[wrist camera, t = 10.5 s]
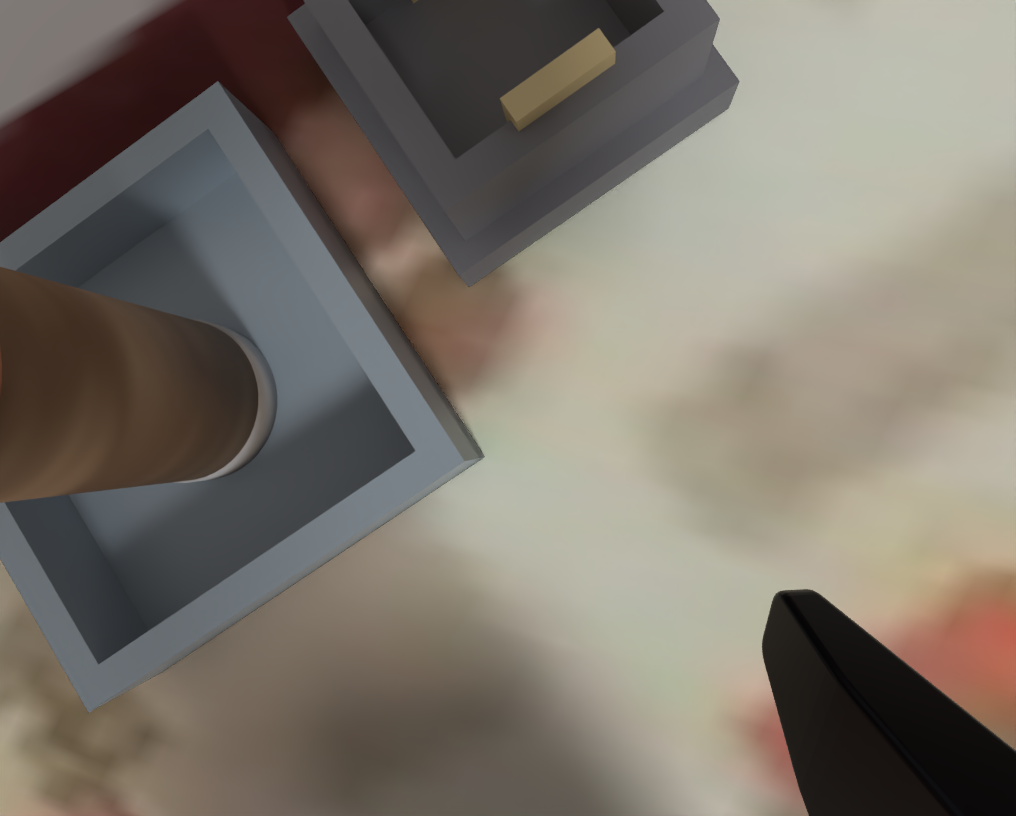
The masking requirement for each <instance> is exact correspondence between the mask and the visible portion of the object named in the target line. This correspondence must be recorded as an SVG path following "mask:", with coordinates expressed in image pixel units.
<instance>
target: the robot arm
mask: <svg viewBox="0 0 1016 816" xmlns="http://www.w3.org/2000/svg"><path fill="white" fill-rule="evenodd" d="M762 653H763V659H764V663H765V667H766V670H767V674H768V678H769V681H770V685H771V689H772V692H773V696H774V700H775V703H776V707H777V711H778V714H779V718H780V722H781V725H782V729H783V733H784V736H785V740H786V744H787V747H788V751H789V755H790V758H791V762H792V766H793V769H794V773H795V776H796V779H797V783H798V786H799V789H800V792H801V795H802V798H803V801H804V803H805V806H806V809H807V812H808V814H809V816H1016V751H1015V750H1014V749H1013V748H1012V747H1010V746H1009V745H1008V744H1007V743H1005V742H1004V741H1003V740H1002V739H1000V738H999V737H998V736H997V735H995V734H994V733H993V732H992V731H990V730H989V729H988V728H987V727H985V726H984V725H983V724H982V723H980V722H979V721H978V720H977V719H975V718H974V717H973V716H972V715H970V714H969V713H968V712H967V711H965V710H964V709H963V708H962V707H960V706H959V705H958V704H957V703H955V702H954V701H953V700H952V699H950V698H949V697H948V696H947V695H945V694H944V693H943V692H942V691H940V690H939V689H938V688H937V687H935V686H934V685H933V684H932V683H930V682H929V681H928V680H927V679H925V678H924V677H923V676H922V675H920V674H919V673H918V672H917V671H915V670H914V669H913V668H912V667H910V666H909V665H908V664H907V663H905V662H904V661H903V660H902V659H900V658H899V657H898V656H897V655H895V654H894V653H893V652H892V651H890V650H889V649H888V648H887V647H885V646H884V645H883V644H882V643H880V642H879V641H878V640H877V639H875V638H874V637H873V636H871V635H870V634H869V633H868V632H866V631H865V630H864V629H863V628H861V627H860V626H859V625H858V624H856V623H855V622H854V621H853V620H851V619H850V618H849V617H848V616H846V615H845V614H844V613H843V612H841V611H840V610H839V609H838V608H836V607H835V606H834V605H833V604H831V603H830V602H829V601H828V600H826V599H825V598H824V597H823V596H821V595H820V594H819V593H817V592H815V591H813V590H809V589H803V590H785V591H780V592H778V593H777V594H776V595H775V596H774V598H773V601H772V604H771V608H770V612H769V616H768V620H767V624H766V628H765V631H764V635H763V640H762Z"/></svg>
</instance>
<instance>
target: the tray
mask: <svg viewBox="0 0 1016 816" xmlns="http://www.w3.org/2000/svg"><path fill="white" fill-rule="evenodd" d="M0 267H3V268H7V269H10V270H14V271H18V272H21V273H25V274H29V275H32V276H36V277H39V278H43V279H47V280H50V281H54V282H57V283H61V284H65V285H68V286H72V287H76V288H79V289H83V290H86V291H90V292H94V293H97V294H101V295H105V296H108V297H112V298H115V299H119V300H123V301H126V302H130V303H134V304H137V305H141V306H144V307H148V308H152V309H155V310H159V311H163V312H166V313H170V314H173V315H177V316H181V317H184V318H191V319H199V320H202V321H206V322H210V323H213V324H217V325H221V326H224V327H227V328H230V329H232V330H235V331H237V332H238V333H240V334H242V335H244V336H245V337H246V338H248V339H249V340H250V341H251V342H253V343H254V345H255V346H256V347H257V348H258V349H259V350H260V351H261V353H262V354H263V355H264V357H265V358H266V360H267V362H268V364H269V365H270V368H271V370H272V373H273V375H274V379H275V383H276V388H277V413H276V418H275V422H274V426H273V429H272V431H271V434H270V436H269V438H268V440H267V442H266V443H265V445H264V447H263V448H262V449H261V451H260V452H259V453H258V454H257V456H256V457H255V458H254V459H253V460H252V461H251V462H249V463H248V464H247V465H246V466H244V467H243V468H241V469H240V470H238V471H236V472H235V473H232V474H230V475H228V476H225V477H222V478H218V479H212V480H205V481H197V482H189V483H174V482H172V483H163V484H155V485H146V486H138V487H129V488H121V489H112V490H104V491H96V492H87V493H79V494H70V495H62V496H53V497H45V498H36V499H28V500H19V501H11V502H3V503H0V559H1V561H2V563H3V565H4V566H5V568H6V570H7V571H8V573H9V575H10V577H11V578H12V580H13V582H14V584H15V585H16V587H17V589H18V591H19V592H20V594H21V596H22V598H23V599H24V601H25V603H26V605H27V606H28V608H29V610H30V612H31V613H32V615H33V617H34V618H35V620H36V622H37V624H38V625H39V627H40V629H41V631H42V632H43V634H44V636H45V638H46V639H47V641H48V643H49V645H50V646H51V648H52V650H53V652H54V653H55V655H56V657H57V659H58V660H59V662H60V664H61V666H62V667H63V669H64V671H65V672H66V674H67V676H68V678H69V679H70V681H71V683H72V685H73V686H74V688H75V690H76V692H77V693H78V695H79V697H80V699H81V700H82V702H83V704H84V706H85V707H86V709H87V711H88V713H89V712H91V711H92V710H94V709H96V708H98V707H100V706H101V705H103V704H105V703H107V702H109V701H111V700H112V699H114V698H116V697H118V696H120V695H121V694H123V693H125V692H127V691H129V690H131V689H132V688H134V687H136V686H138V685H140V684H142V683H143V682H145V681H147V680H149V679H151V678H152V677H154V676H156V675H158V674H160V673H162V672H163V671H165V670H166V669H168V668H169V667H171V666H172V665H174V664H175V663H177V662H178V661H180V660H181V659H183V658H184V657H186V656H187V655H189V654H190V653H192V652H193V651H195V650H196V649H198V648H199V647H201V646H202V645H204V644H205V643H207V642H208V641H210V640H211V639H213V638H214V637H216V636H217V635H219V634H220V633H222V632H223V631H225V630H226V629H228V628H229V627H231V626H232V625H234V624H235V623H237V622H238V621H240V620H241V619H243V618H244V617H246V616H247V615H249V614H250V613H252V612H253V611H255V610H256V609H258V608H259V607H261V606H262V605H264V604H265V603H267V602H268V601H270V600H271V599H273V598H274V597H276V596H277V595H279V594H280V593H282V592H283V591H285V590H286V589H288V588H289V587H291V586H292V585H294V584H295V583H297V582H298V581H300V580H301V579H303V578H304V577H306V576H307V575H309V574H310V573H312V572H313V571H315V570H316V569H318V568H319V567H321V566H322V565H324V564H325V563H327V562H328V561H330V560H331V559H333V558H334V557H336V556H337V555H339V554H340V553H342V552H343V551H345V550H346V549H348V548H349V547H351V546H352V545H354V544H355V543H357V542H358V541H360V540H361V539H363V538H364V537H366V536H367V535H369V534H370V533H372V532H373V531H375V530H376V529H378V528H379V527H381V526H382V525H384V524H385V523H387V522H388V521H390V520H391V519H393V518H394V517H396V516H397V515H399V514H400V513H402V512H403V511H405V510H406V509H408V508H409V507H411V506H412V505H414V504H415V503H417V502H418V501H420V500H421V499H423V498H424V497H426V496H427V495H429V494H430V493H432V492H433V491H435V490H436V489H438V488H439V487H441V486H442V485H444V484H445V483H447V482H448V481H450V480H451V479H453V478H454V477H456V476H457V475H459V474H460V473H462V472H463V471H465V470H466V469H468V468H469V467H471V466H472V465H474V464H475V463H477V462H478V461H480V460H481V459H483V458H484V457H485V456H484V455H483V453H482V452H481V450H480V449H479V447H478V446H477V444H476V443H475V441H474V440H473V438H472V437H471V435H470V433H469V432H468V430H467V429H466V427H465V426H464V424H463V423H462V421H461V420H460V418H459V417H458V415H457V414H456V412H455V410H454V409H453V407H452V406H451V404H450V403H449V401H448V400H447V398H446V397H445V395H444V394H443V392H442V391H441V389H440V387H439V386H438V384H437V383H436V381H435V380H434V378H433V377H432V375H431V374H430V372H429V371H428V369H427V368H426V366H425V364H424V363H423V361H422V360H421V358H420V357H419V355H418V354H417V352H416V351H415V349H414V348H413V346H412V345H411V343H410V341H409V340H408V338H407V337H406V335H405V334H404V332H403V331H402V329H401V328H400V326H399V325H398V323H397V322H396V320H395V318H394V317H393V315H392V314H391V312H390V311H389V309H388V308H387V306H386V305H385V303H384V302H383V300H382V299H381V297H380V295H379V294H378V292H377V291H376V289H375V288H374V286H373V285H372V283H371V282H370V280H369V279H368V277H367V276H366V274H365V273H364V271H363V269H362V268H361V266H360V265H359V263H358V262H357V260H356V259H355V257H354V256H353V254H352V253H351V251H350V250H349V248H348V246H347V245H346V243H345V242H344V240H343V239H342V237H341V236H340V234H339V233H338V231H337V230H336V228H335V227H334V225H333V223H332V222H331V220H330V219H329V217H328V216H327V214H326V213H325V211H324V210H323V208H322V207H321V205H320V204H319V202H318V200H317V199H316V197H315V196H314V194H313V193H312V191H311V190H310V188H309V187H308V185H307V184H306V182H305V181H304V179H303V177H302V176H301V174H300V173H299V171H298V170H297V168H296V167H295V165H294V164H293V162H292V161H291V159H290V158H289V156H288V154H287V153H286V151H285V150H284V148H283V147H282V145H281V144H280V142H279V141H278V139H277V138H276V136H275V135H274V133H273V132H272V131H271V130H270V129H269V128H268V127H267V126H266V125H265V124H264V123H263V122H262V121H261V120H259V119H258V118H257V117H256V116H255V115H254V114H253V113H252V112H251V111H250V110H249V109H248V108H246V107H245V106H244V105H243V104H242V103H241V102H240V101H239V100H238V99H237V98H236V97H235V96H233V95H232V94H231V93H230V92H229V91H228V90H227V89H226V88H225V87H224V86H223V85H222V84H220V83H219V82H216V83H215V84H213V85H212V86H211V87H209V88H208V89H207V90H205V91H204V92H203V93H201V94H200V95H199V96H197V97H196V98H195V99H193V100H192V101H190V102H189V103H188V104H186V105H185V106H184V107H182V108H181V109H180V110H178V111H177V112H176V113H174V114H173V115H172V116H170V117H169V118H168V119H166V120H165V121H163V122H162V123H161V124H159V125H158V126H157V127H155V128H154V129H153V130H151V131H150V132H149V133H147V134H146V135H145V136H143V137H142V138H141V139H139V140H138V141H136V142H135V143H134V144H132V145H131V146H130V147H128V148H127V149H126V150H124V151H123V152H122V153H120V154H119V155H118V156H116V157H115V158H114V159H112V160H111V161H109V162H108V163H107V164H105V165H104V166H103V167H101V168H100V169H99V170H97V171H96V172H95V173H93V174H92V175H91V176H89V177H88V178H86V179H85V180H84V181H82V182H81V183H80V184H78V185H77V186H76V187H74V188H73V189H72V190H70V191H69V192H68V193H66V194H65V195H64V196H62V197H61V198H59V199H58V200H57V201H55V202H54V203H53V204H51V205H50V206H49V207H47V208H46V209H45V210H43V211H42V212H41V213H39V214H38V215H37V216H35V217H34V218H32V219H31V220H30V221H28V222H27V223H26V224H24V225H23V226H22V227H20V228H19V229H18V230H16V231H15V232H14V233H12V234H11V235H10V236H8V237H7V238H5V239H4V240H3V241H1V242H0Z"/></svg>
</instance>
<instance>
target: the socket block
mask: <svg viewBox="0 0 1016 816" xmlns="http://www.w3.org/2000/svg"><path fill="white" fill-rule="evenodd" d="M303 1H304V2H305V4H304V5H303V6H301V7H300V8H298V9H297V10H296V11H294V12H293V13H292V14H290V15H289V16H288V17H287V19H288V20H289V22H290V23H291V25H292V26H293V28H294V29H295V31H296V32H297V34H298V35H299V37H300V38H301V40H302V41H303V43H304V44H305V46H306V47H307V49H308V50H309V52H310V53H311V55H312V56H313V58H314V59H315V61H316V62H317V64H318V65H319V67H320V68H321V70H322V71H323V73H324V74H325V76H326V77H327V79H328V80H329V82H330V83H331V85H332V86H333V88H334V89H335V91H336V92H337V94H338V95H339V97H340V98H341V100H342V101H343V103H344V104H345V106H346V107H347V109H348V110H349V112H350V113H351V115H352V116H353V118H354V119H355V121H356V122H357V124H358V125H359V127H360V128H361V130H362V131H363V133H364V134H365V136H366V137H367V139H368V140H369V142H370V143H371V145H372V146H373V148H374V149H375V151H376V152H377V154H378V155H379V157H380V158H381V160H382V161H383V163H384V164H385V166H386V167H387V169H388V170H389V172H390V173H391V175H392V176H393V178H394V179H395V181H396V182H397V184H398V185H399V187H400V188H401V190H402V191H403V193H404V194H405V196H406V197H407V199H408V200H409V202H410V203H411V205H412V206H413V208H414V209H415V211H416V212H417V214H418V215H419V217H420V218H421V220H422V221H423V223H424V224H425V226H426V227H427V229H428V230H429V232H430V233H431V235H432V236H433V238H434V239H435V241H436V242H437V244H438V245H439V247H440V248H441V250H442V251H443V253H444V254H445V256H446V257H447V259H448V260H449V262H450V263H451V265H452V266H453V268H454V269H455V271H456V272H457V274H458V275H459V277H460V278H461V279H462V280H463V281H464V282H465V283H466V284H467V285H468V287H470V286H472V285H473V284H475V283H476V282H477V281H479V280H480V279H482V278H483V277H485V276H486V275H488V274H489V273H491V272H492V271H493V270H495V269H496V268H498V267H499V266H501V265H502V264H504V263H505V262H506V261H508V260H509V259H511V258H512V257H514V256H515V255H517V254H518V253H519V252H521V251H522V250H524V249H525V248H527V247H528V246H530V245H531V244H533V243H534V242H535V241H537V240H538V239H540V238H541V237H543V236H544V235H546V234H547V233H548V232H550V231H551V230H553V229H554V228H556V227H557V226H559V225H560V224H562V223H563V222H564V221H566V220H567V219H569V218H570V217H572V216H573V215H575V214H576V213H577V212H579V211H580V210H582V209H583V208H585V207H586V206H588V205H589V204H591V203H592V202H593V201H595V200H596V199H598V198H599V197H601V196H602V195H604V194H605V193H606V192H608V191H609V190H611V189H612V188H614V187H615V186H617V185H618V184H619V183H621V182H622V181H624V180H625V179H627V178H628V177H630V176H631V175H633V174H634V173H635V172H637V171H638V170H640V169H641V168H643V167H644V166H646V165H647V164H648V163H650V162H651V161H653V160H654V159H656V158H657V157H659V156H660V155H662V154H663V153H664V152H666V151H667V150H669V149H670V148H672V147H673V146H675V145H676V144H677V143H679V142H680V141H682V140H683V139H685V138H686V137H688V136H689V135H691V134H692V133H693V132H695V131H696V130H698V129H699V128H701V127H702V126H704V125H705V124H706V123H708V122H709V121H711V120H712V119H714V118H715V117H717V116H718V115H719V114H721V113H722V112H724V111H725V110H727V109H728V108H729V106H730V104H731V101H732V99H733V96H734V94H735V91H736V89H737V86H738V84H739V80H738V78H737V77H736V76H735V74H734V73H733V72H732V70H731V69H730V67H729V66H728V65H727V63H726V62H725V61H724V59H723V58H722V56H721V55H720V54H719V52H718V51H717V50H716V48H715V47H714V45H713V41H714V37H715V34H716V30H717V27H718V24H719V20H720V18H719V17H718V16H717V14H716V13H715V11H714V10H713V9H712V7H711V6H710V5H709V3H708V2H707V1H706V0H303Z"/></svg>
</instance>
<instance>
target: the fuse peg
mask: <svg viewBox="0 0 1016 816" xmlns="http://www.w3.org/2000/svg"><path fill="white" fill-rule="evenodd" d="M276 413H277V388H276V383H275V379H274V375H273V373H272V370H271V368H270V365H269V364H268V362H267V360H266V358H265V357H264V355H263V354H262V353H261V351H260V350H259V349H258V348H257V347H256V346H255V345H254V343H253V342H251V341H250V340H249V339H248V338H246V337H245V336H244V335H242V334H240V333H238V332H237V331H235V330H232V329H230V328H227V327H224V326H221V325H217V324H213V323H210V322H206V321H202V320H199V319H191V318H184V317H181V316H177V315H173V314H170V313H166V312H163V311H159V310H155V309H152V308H148V307H144V306H141V305H137V304H134V303H130V302H126V301H123V300H119V299H115V298H112V297H108V296H105V295H101V294H97V293H94V292H90V291H86V290H83V289H79V288H76V287H72V286H68V285H65V284H61V283H57V282H54V281H50V280H47V279H43V278H39V277H36V276H32V275H29V274H25V273H21V272H18V271H14V270H10V269H7V268H3V267H0V503H3V502H11V501H19V500H28V499H36V498H45V497H53V496H62V495H70V494H79V493H87V492H96V491H104V490H112V489H121V488H129V487H138V486H146V485H155V484H163V483H172V482H174V483H189V482H197V481H205V480H212V479H218V478H222V477H225V476H228V475H230V474H232V473H235V472H236V471H238V470H240V469H241V468H243V467H244V466H246V465H247V464H248V463H249V462H251V461H252V460H253V459H254V458H255V457H256V456H257V454H258V453H259V452H260V451H261V449H262V448H263V447H264V445H265V443H266V442H267V440H268V438H269V436H270V434H271V431H272V429H273V426H274V422H275V418H276Z"/></svg>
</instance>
